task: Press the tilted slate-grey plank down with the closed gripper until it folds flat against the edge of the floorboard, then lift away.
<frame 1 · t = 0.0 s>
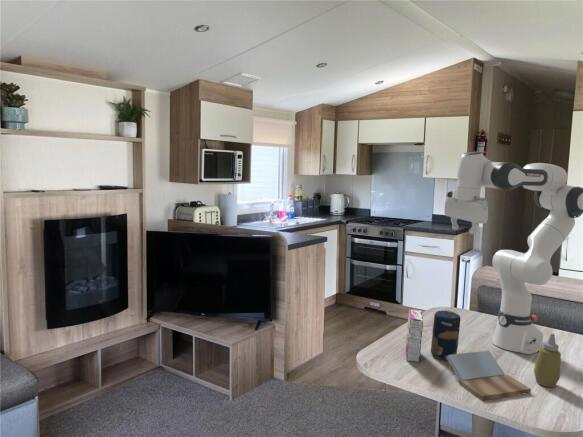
hand: (463, 231, 179), 48 cm above the table, tool pointing down, fingers open, 8 cm apart
floorboard: (495, 389, 157), on the table
squeeze bottle: (545, 384, 164), on the table
candy bar box: (411, 356, 180), on the table
plank: (475, 365, 166), point 4 cm above the table, hinge at 30.0°
canister: (443, 356, 181), on the table
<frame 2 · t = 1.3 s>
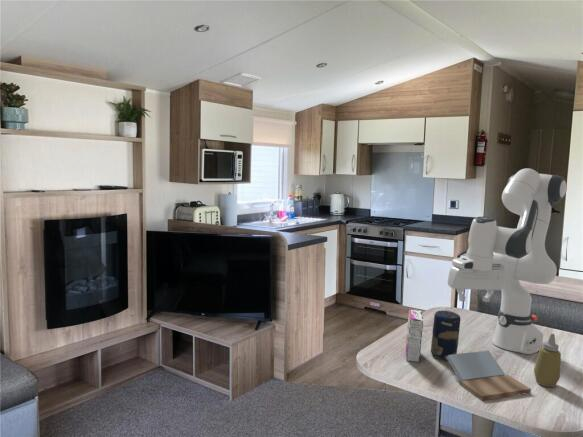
hand: (473, 301, 167), 26 cm above the table, tool pointing down, fingers open, 8 cm apart
nothing on the table moved.
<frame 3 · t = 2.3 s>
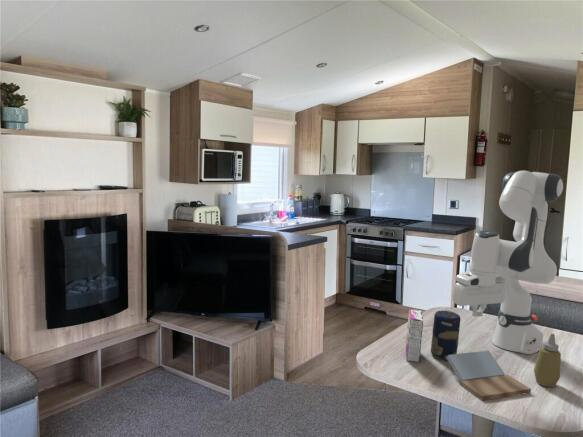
hand: (477, 315, 166), 21 cm above the table, tool pointing down, fingers closed
nothing on the table moved.
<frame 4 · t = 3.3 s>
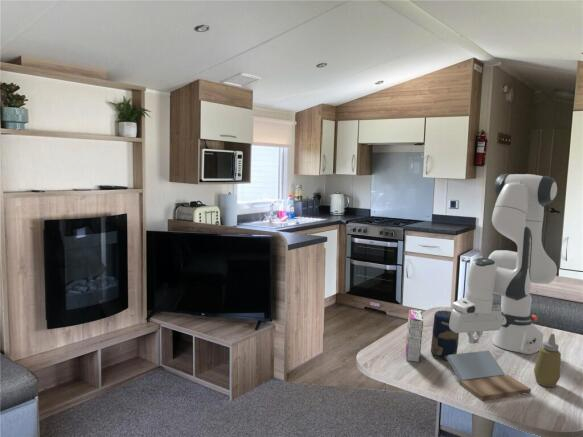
hand: (473, 342, 167), 11 cm above the table, tool pointing down, fingers closed
nothing on the table moved.
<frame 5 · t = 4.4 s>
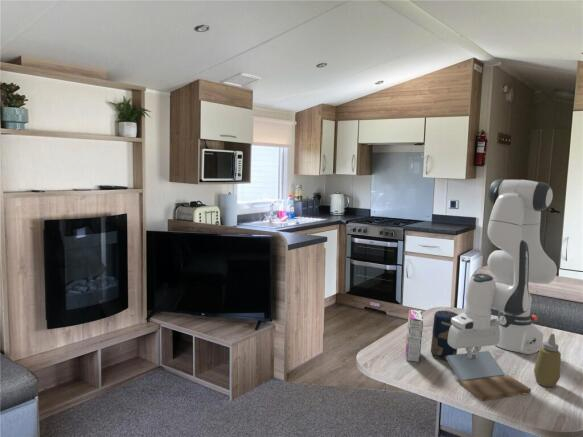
hand: (471, 357, 168), 6 cm above the table, tool pointing down, fingers closed, pressing on plank
plank: (475, 366, 166), point 3 cm above the table, hinge at 28.4°, touching gripper
everything else where it was.
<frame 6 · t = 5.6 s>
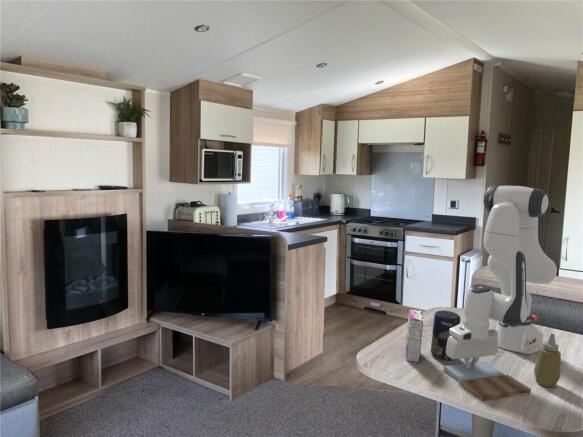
hand: (470, 367, 168), 2 cm above the table, tool pointing down, fingers closed, pressing on plank
plank: (473, 372, 167), point 1 cm above the table, hinge at 2.2°, touching gripper
everything else where it was.
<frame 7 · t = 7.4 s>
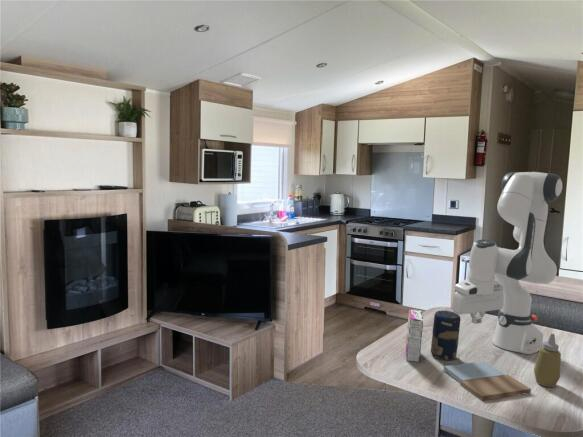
hand: (476, 322, 169), 17 cm above the table, tool pointing down, fingers closed
plank: (473, 372, 167), point 1 cm above the table, hinge at 2.1°
everything else where it was.
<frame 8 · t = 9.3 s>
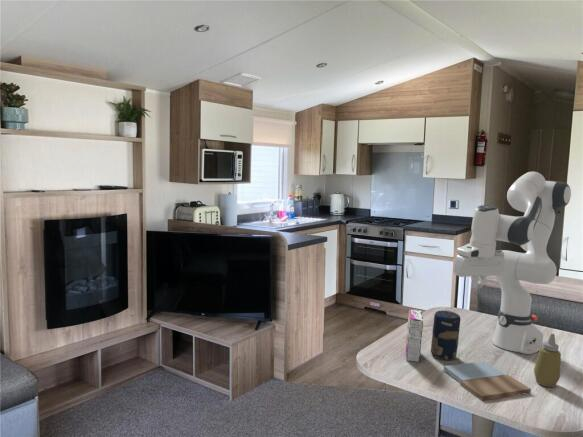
hand: (477, 287, 173), 29 cm above the table, tool pointing down, fingers closed
nothing on the table moved.
at the end: plank at +2° (first picture: +30°) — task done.
